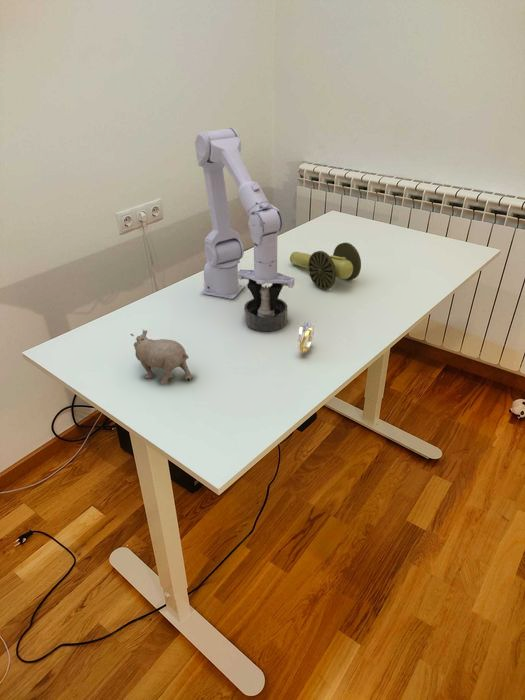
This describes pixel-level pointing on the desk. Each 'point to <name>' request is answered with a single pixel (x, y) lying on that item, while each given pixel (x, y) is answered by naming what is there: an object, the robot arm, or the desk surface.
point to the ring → (311, 333)
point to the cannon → (330, 265)
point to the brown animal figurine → (161, 356)
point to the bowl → (265, 322)
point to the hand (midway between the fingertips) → (265, 307)
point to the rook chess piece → (265, 303)
